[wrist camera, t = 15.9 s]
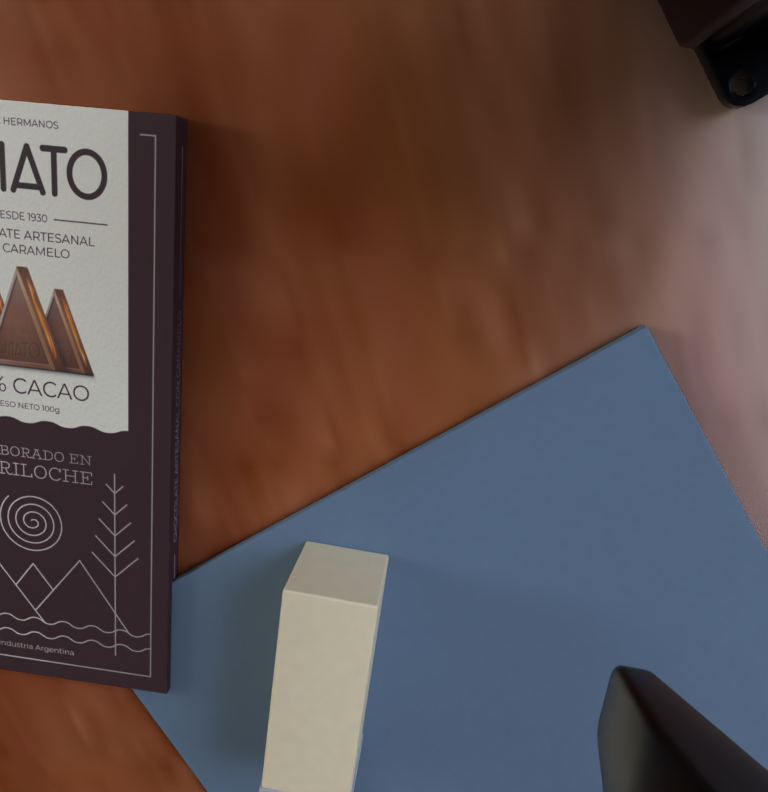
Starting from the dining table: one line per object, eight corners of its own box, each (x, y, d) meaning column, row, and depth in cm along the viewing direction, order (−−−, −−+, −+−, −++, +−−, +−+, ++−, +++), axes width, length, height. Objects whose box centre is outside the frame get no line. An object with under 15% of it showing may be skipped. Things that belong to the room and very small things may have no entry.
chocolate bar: (-89, 654, 23) (-140, 87, 19) (-68, 638, 24) (-113, 93, 20) (166, 693, 23) (176, 115, 18) (177, 675, 24) (189, 120, 19)
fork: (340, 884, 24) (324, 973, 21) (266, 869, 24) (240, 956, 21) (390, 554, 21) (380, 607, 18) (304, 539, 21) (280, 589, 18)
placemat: (643, 324, 19) (647, 326, 18) (870, 751, 21) (877, 761, 21) (92, 621, 23) (86, 628, 23) (333, 950, 25) (332, 962, 25)
